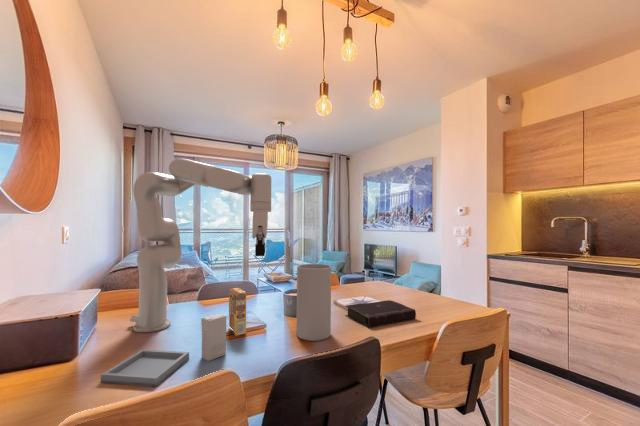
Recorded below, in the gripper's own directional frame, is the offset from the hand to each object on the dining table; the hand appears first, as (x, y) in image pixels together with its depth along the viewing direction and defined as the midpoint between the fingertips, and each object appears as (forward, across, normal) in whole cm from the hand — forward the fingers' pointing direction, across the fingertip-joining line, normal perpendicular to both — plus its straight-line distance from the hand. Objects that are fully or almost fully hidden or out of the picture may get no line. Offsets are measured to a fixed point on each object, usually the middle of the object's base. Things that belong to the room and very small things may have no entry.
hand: (260, 254), depth 108 cm
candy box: (+29, -6, -8) cm, 31 cm away
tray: (+29, +20, -30) cm, 46 cm away
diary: (+30, -14, +51) cm, 61 cm away
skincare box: (+30, +14, -13) cm, 35 cm away
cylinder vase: (+30, +2, +19) cm, 35 cm away
